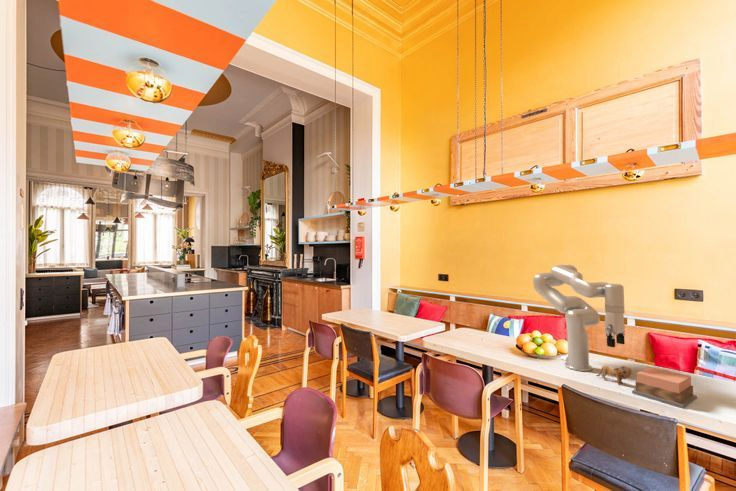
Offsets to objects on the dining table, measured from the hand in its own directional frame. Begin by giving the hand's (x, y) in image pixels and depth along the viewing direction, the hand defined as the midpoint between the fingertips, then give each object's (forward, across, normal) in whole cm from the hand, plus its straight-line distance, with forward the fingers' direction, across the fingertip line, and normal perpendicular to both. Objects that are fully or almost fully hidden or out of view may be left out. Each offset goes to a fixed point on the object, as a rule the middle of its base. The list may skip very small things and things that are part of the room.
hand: (615, 345), depth 160 cm
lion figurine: (+18, 0, -1) cm, 18 cm away
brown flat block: (+17, 0, +18) cm, 24 cm away
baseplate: (+18, 0, +18) cm, 25 cm away
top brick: (+13, 0, +18) cm, 22 cm away
